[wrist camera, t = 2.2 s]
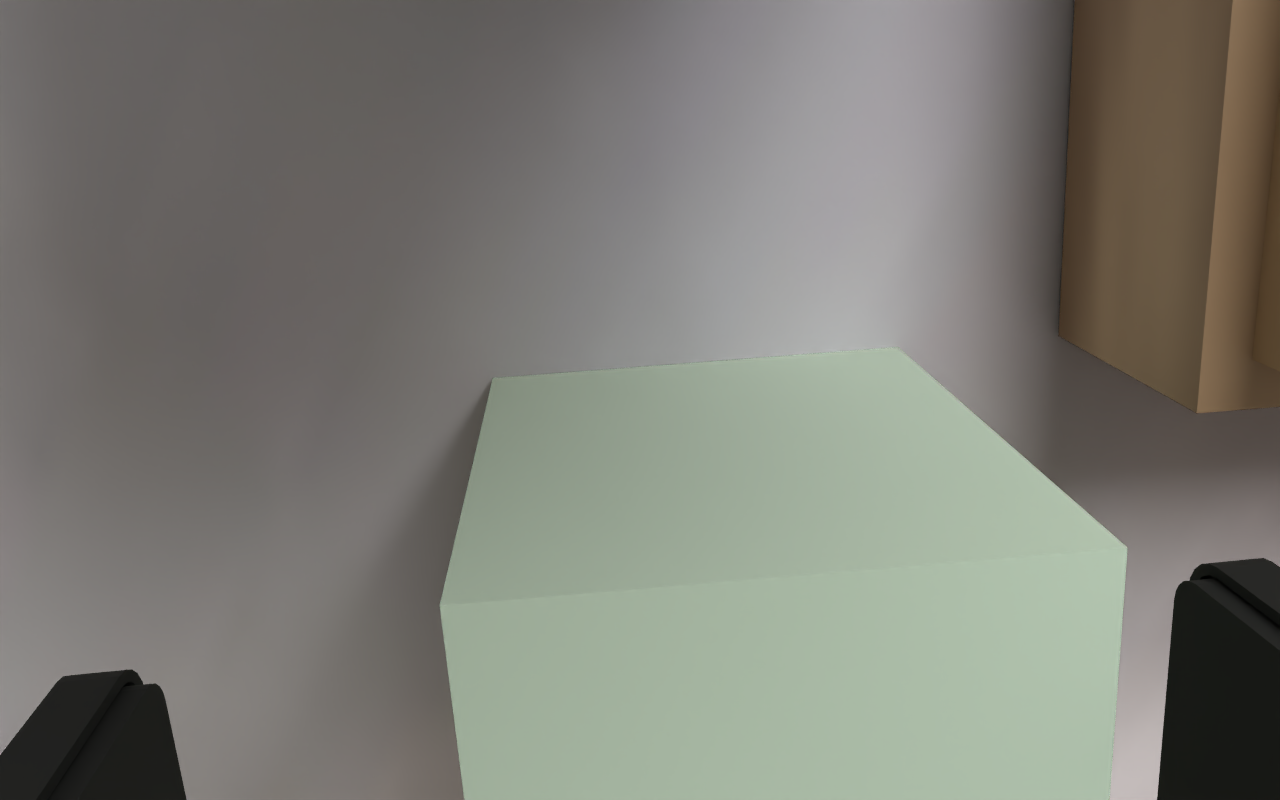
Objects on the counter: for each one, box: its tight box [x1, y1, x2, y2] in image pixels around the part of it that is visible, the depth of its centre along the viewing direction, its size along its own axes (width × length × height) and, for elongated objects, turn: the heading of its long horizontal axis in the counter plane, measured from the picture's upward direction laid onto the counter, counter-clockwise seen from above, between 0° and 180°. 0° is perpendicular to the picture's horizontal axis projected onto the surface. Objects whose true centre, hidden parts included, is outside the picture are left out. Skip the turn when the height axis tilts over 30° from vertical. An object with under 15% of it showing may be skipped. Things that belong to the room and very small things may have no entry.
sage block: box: [440, 347, 1128, 800], centre depth 12 cm, size 5×5×6 cm
